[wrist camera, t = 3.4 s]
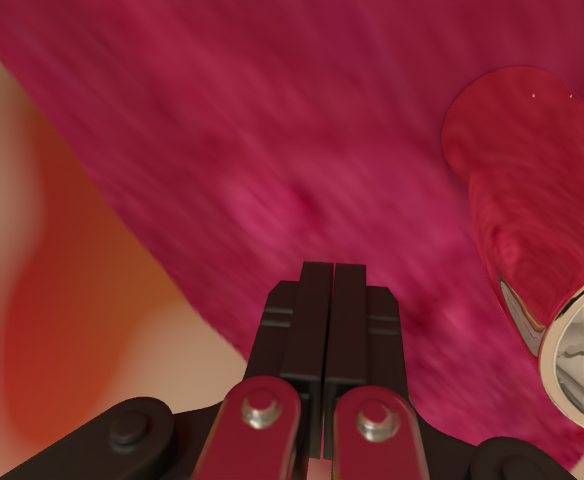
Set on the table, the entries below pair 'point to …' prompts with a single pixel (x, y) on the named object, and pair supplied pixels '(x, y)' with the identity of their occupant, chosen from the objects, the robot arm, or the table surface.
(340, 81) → the table surface
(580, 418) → the beer glass
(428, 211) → the table surface
